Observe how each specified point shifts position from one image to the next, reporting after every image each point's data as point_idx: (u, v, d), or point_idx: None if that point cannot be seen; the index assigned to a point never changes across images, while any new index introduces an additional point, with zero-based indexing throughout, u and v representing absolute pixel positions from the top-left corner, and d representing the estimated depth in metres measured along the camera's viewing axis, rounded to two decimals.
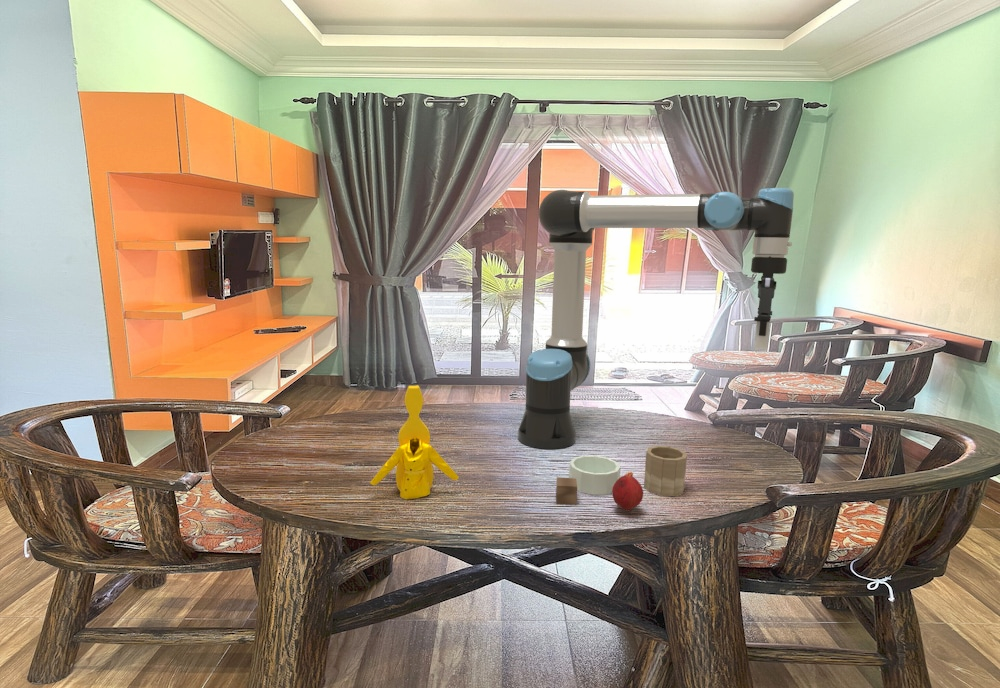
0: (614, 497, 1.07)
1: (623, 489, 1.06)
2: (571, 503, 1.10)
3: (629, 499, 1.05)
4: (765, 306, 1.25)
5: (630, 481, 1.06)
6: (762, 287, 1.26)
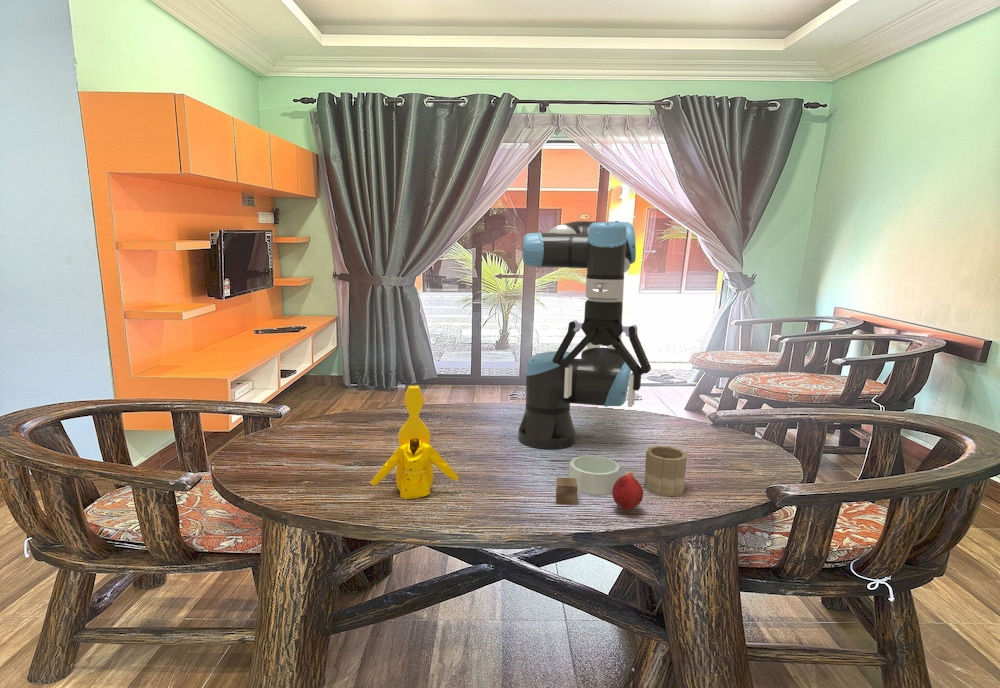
0: (614, 497, 1.07)
1: (623, 489, 1.06)
2: (571, 503, 1.10)
3: (629, 499, 1.05)
4: None
5: (630, 481, 1.06)
6: None
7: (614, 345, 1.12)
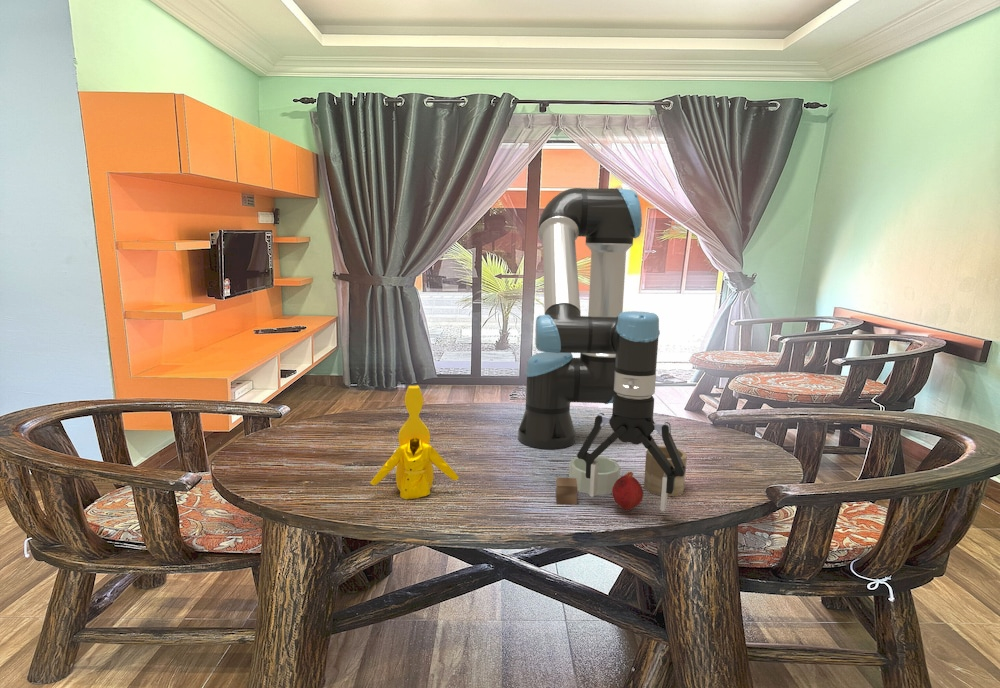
0: (614, 497, 1.07)
1: (623, 489, 1.06)
2: (571, 503, 1.10)
3: (629, 499, 1.05)
4: None
5: (630, 481, 1.06)
6: None
7: (645, 445, 1.03)
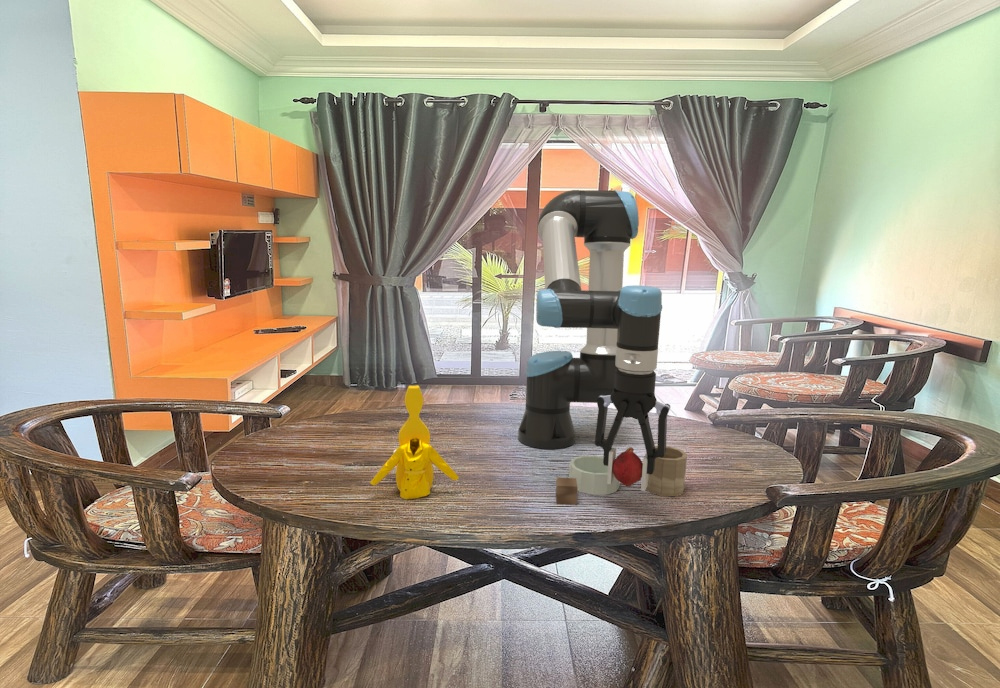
0: (614, 473, 1.07)
1: (624, 464, 1.05)
2: (571, 503, 1.10)
3: (629, 474, 1.05)
4: None
5: (631, 457, 1.06)
6: None
7: (640, 421, 1.03)
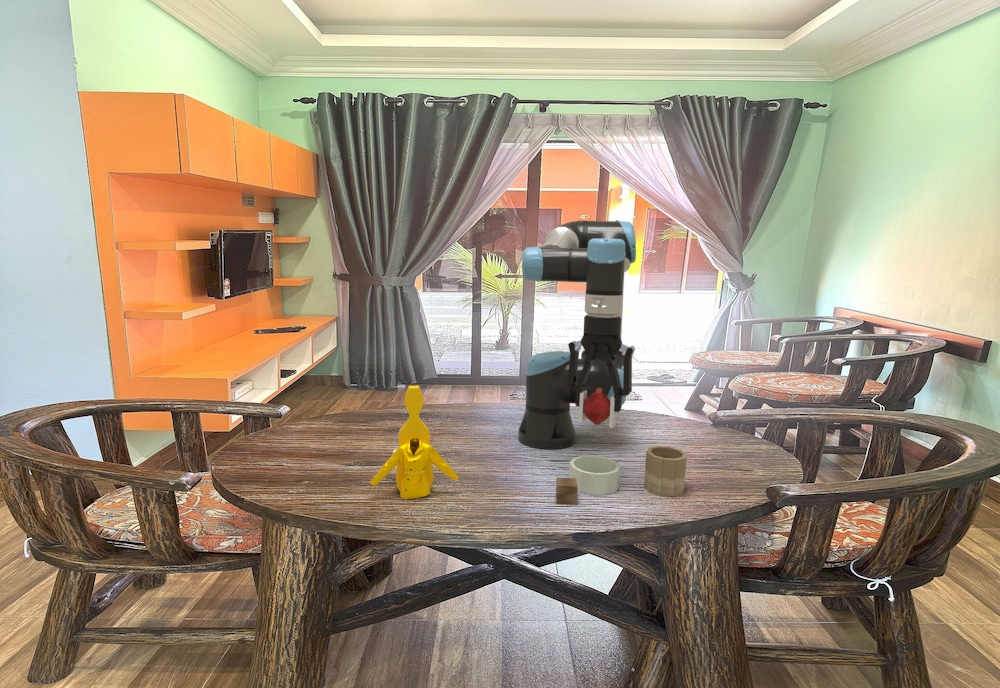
0: (585, 411, 1.16)
1: (593, 403, 1.15)
2: (571, 503, 1.10)
3: (598, 411, 1.14)
4: None
5: (599, 396, 1.15)
6: None
7: (607, 362, 1.13)
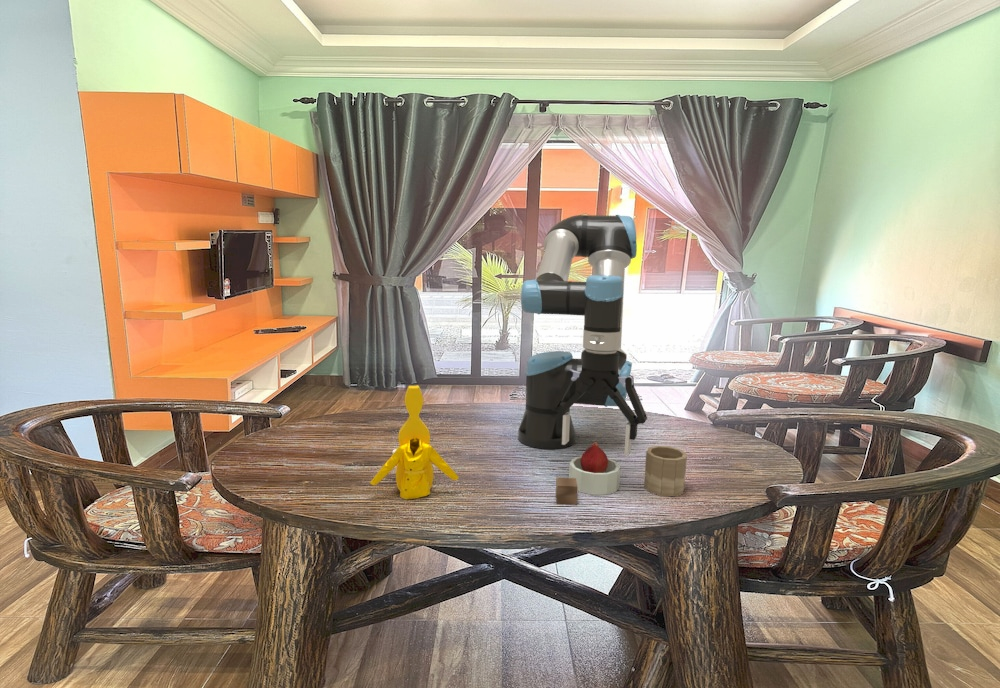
0: (582, 463, 1.20)
1: (590, 453, 1.19)
2: (571, 503, 1.10)
3: (595, 461, 1.18)
4: None
5: (596, 448, 1.20)
6: None
7: (611, 395, 1.14)
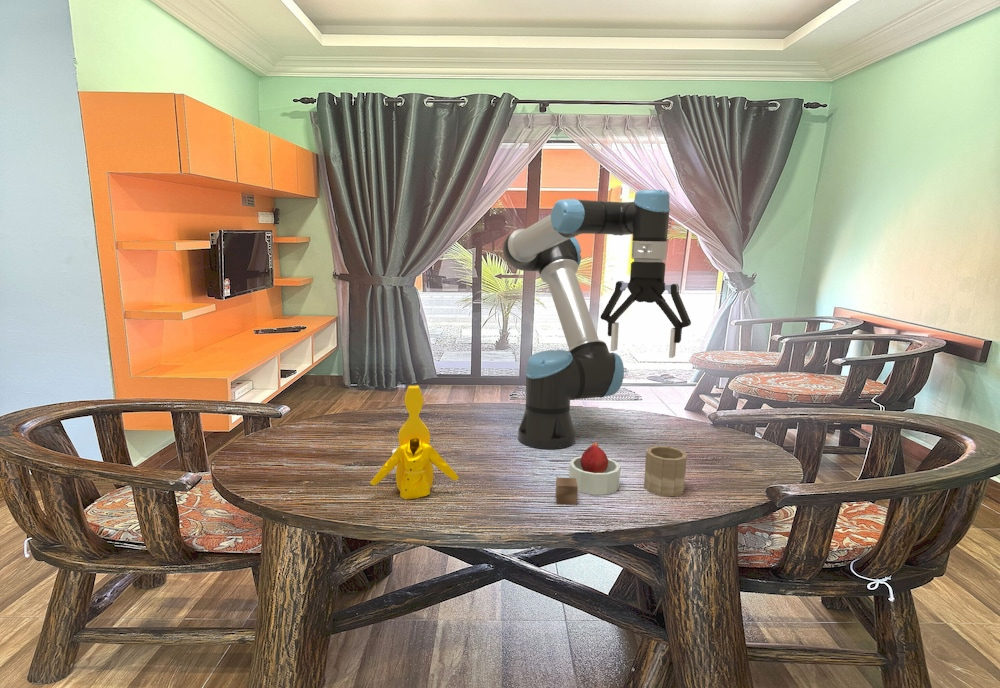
0: (582, 463, 1.20)
1: (590, 453, 1.19)
2: (571, 503, 1.10)
3: (595, 461, 1.18)
4: None
5: (596, 448, 1.20)
6: None
7: (657, 301, 1.24)
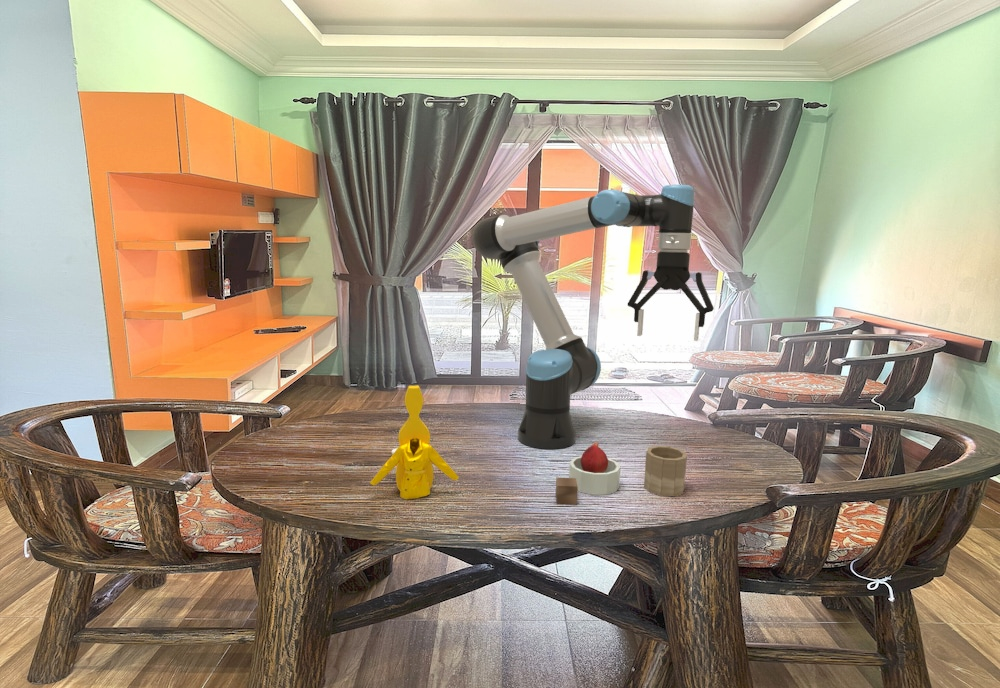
0: (582, 463, 1.20)
1: (590, 453, 1.19)
2: (571, 503, 1.10)
3: (595, 460, 1.18)
4: None
5: (596, 448, 1.20)
6: None
7: (683, 289, 1.33)
